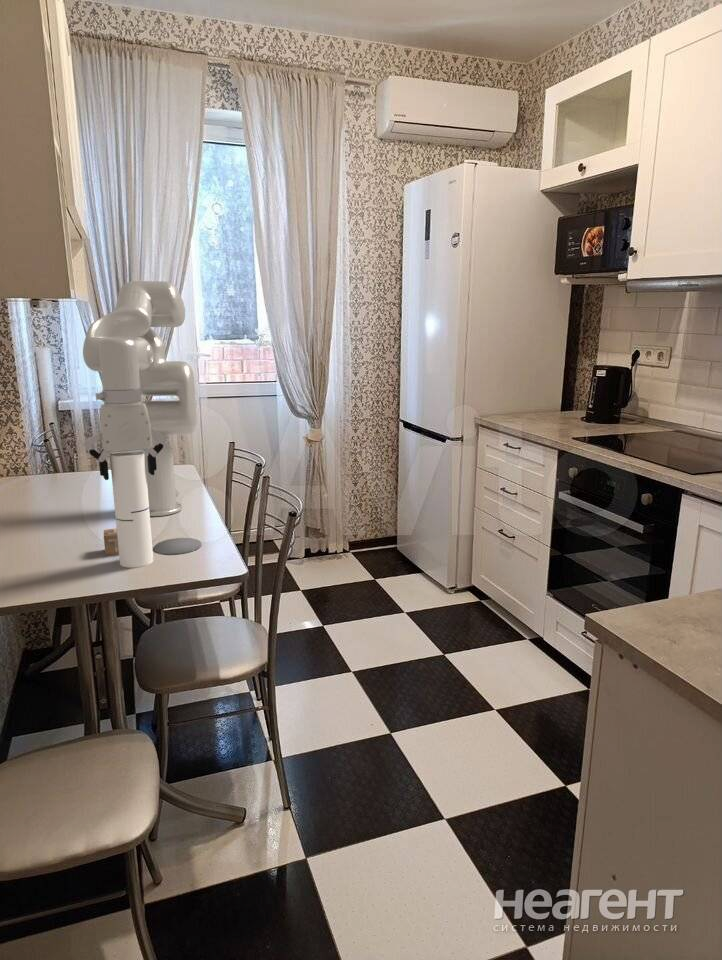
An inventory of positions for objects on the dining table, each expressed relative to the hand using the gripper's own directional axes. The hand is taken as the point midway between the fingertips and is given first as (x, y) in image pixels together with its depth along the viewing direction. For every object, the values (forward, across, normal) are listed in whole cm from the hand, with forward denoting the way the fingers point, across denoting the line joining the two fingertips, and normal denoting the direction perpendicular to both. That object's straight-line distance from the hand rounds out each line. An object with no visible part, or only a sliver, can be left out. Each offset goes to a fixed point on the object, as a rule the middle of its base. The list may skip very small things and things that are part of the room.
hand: (129, 476), depth 139 cm
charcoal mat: (+20, +11, +6) cm, 23 cm away
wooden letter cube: (+20, -3, +10) cm, 22 cm away
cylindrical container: (+20, 0, 0) cm, 20 cm away
